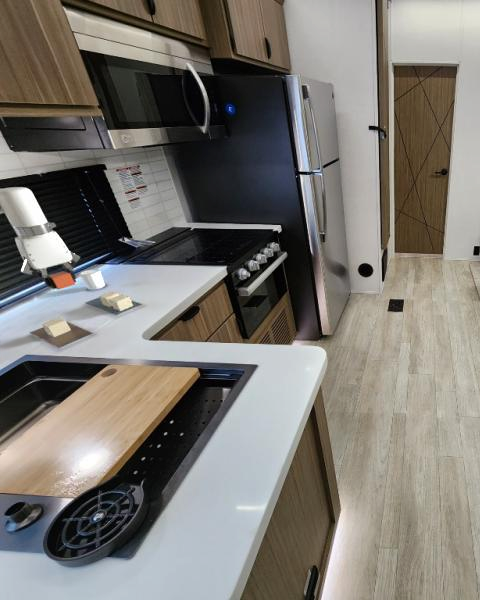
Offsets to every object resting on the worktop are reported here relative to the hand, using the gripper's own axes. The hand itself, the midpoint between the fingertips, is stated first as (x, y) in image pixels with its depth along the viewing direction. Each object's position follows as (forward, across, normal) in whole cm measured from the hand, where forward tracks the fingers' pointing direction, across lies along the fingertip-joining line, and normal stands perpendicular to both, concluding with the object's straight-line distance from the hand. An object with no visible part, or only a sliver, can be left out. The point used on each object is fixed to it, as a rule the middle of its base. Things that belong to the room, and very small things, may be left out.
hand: (63, 284), depth 109 cm
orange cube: (+1, 0, 0) cm, 1 cm away
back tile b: (+15, -12, -6) cm, 20 cm away
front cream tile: (+15, +7, 0) cm, 16 cm away
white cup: (+16, -18, -31) cm, 39 cm away
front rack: (+15, +7, +2) cm, 17 cm away
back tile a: (+15, -12, +1) cm, 19 cm away
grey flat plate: (+15, -12, -6) cm, 20 cm away
